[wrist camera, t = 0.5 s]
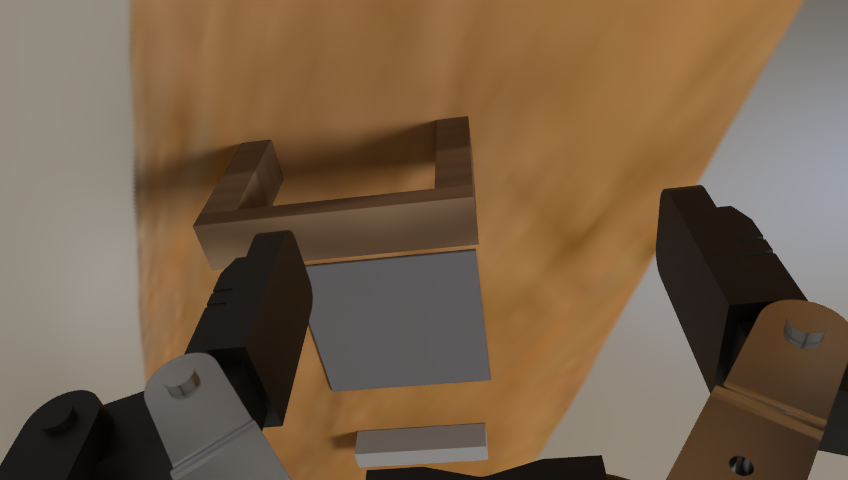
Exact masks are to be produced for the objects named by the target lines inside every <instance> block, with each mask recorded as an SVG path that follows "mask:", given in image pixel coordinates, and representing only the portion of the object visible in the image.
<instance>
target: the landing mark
mask: <svg viewBox="0 0 848 480" xmlns="http://www.w3.org/2000/svg"><path fill="white" fill-rule="evenodd" d="M305 267H306V270H307V273H308V276H309V279H310V282H311V286H312V293H313V305H312V311H311V315H310V319H309V323H310V326H311V329H312V332H313V335H314V338H315V341H316V344H317V347H318V350H319V353H320V356H321V359H322V362H323V365H324V368H325V370H326V373H327V376H328V379H329V382H330V385H331V388H332V391H347V390H361V389H375V388H389V387H402V386H416V385H430V384H444V383H458V382H471V381H485V380H491V377H490V369H489V360H488V352H487V343H486V334H485V326H484V317H483V309H482V300H481V291H480V283H479V274H478V266H477V257H476V249H472V250H461V251H451V252H440V253H430V254H419V255H409V256H399V257H388V258H378V259H367V260H357V261H346V262H336V263H325V264H315V265H305Z"/></svg>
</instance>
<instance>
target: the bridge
mask: <svg viewBox="0 0 848 480" xmlns="http://www.w3.org/2000/svg"><path fill="white" fill-rule="evenodd" d="M282 182H283V176H282V173H281V170H280V167H279V163H278V160H277V157H276V154H275V151H274V147H273V144H272V141H271V140H266V141H258V142H249V143H242V144H241V146H240V148H239V149H238V151H237V153H236V154H235V156H234V158H233V159H232V161H231V163H230V164H229V166H228V168H227V169H226V171H225V173H224V174H223V176H222V178H221V180H220V181H219V183H218V185H217V186H216V188H215V190H214V191H213V193H212V195H211V196H210V198H209V200H208V201H207V203H206V205H205V206H204V208H203V210H202V211H201V213H200V215H199V216H198V218H197V220H196V222H195V223H194V225H193V228H194V230H195V232H196V235H197V237H198V239H199V242H200V244H201V246H202V249H203V251H204V253H205V255H206V258H207V260H208V262H209V265H210V267H211V269H212V270H216V269H226V268H227V267H228V266H229V265H230V264H231V263H232V262H233V261H234V260H235V259H236V258H239V257H246V255H247V253H248V250H249V248H250V246H251V243H252V241H253V238H254V236H255V235H256V234H257V233H266V232H275V231H284V230H290V231H292V233H293V234H294V236H295V239H296V241H297V244H298V247H299V250H300V253H301V256H302V259H303V261H310V260H320V259H331V258H341V257H352V256H362V255H372V254H383V253H393V252H403V251H414V250H424V249H435V248H445V247H455V246H466V245H476V244H479V241H478V227H477V213H476V199H475V185H474V171H473V157H472V148H471V139H470V129H469V120H468V117H460V118H451V119H443V120H437V133H436V164H435V189H428V190H419V191H409V192H400V193H390V194H381V195H372V196H362V197H353V198H344V199H334V200H325V201H316V202H306V203H297V204H287V205H278V206H272V205H273V203H274V200H275V198H276V196H277V193H278V191H279V189H280V186H281V184H282Z"/></svg>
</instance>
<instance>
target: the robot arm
mask: <svg viewBox="0 0 848 480" xmlns="http://www.w3.org/2000/svg"><path fill="white" fill-rule="evenodd" d="M656 260H657V266H658V271H659V274H660V277H661V279H662V282H663V284H664V286H665V289H666V291H667V293H668V296H669V298H670V300H671V303H672V305H673V307H674V310H675V312H676V314H677V317H678V319H679V322H680V324H681V326H682V329H683V331H684V333H685V335H686V338H687V340H688V343H689V345H690V347H691V349H692V352H693V354H694V357H695V359H696V361H697V363H698V366H699V368H700V370H701V373H702V375H703V377H704V380H705V382H706V385H707V387H708V389H709V392H710V396H709V398H708V400H707V402H706V404H705V406H704V408H703V410H702V412H701V413H700V415H699V418H698V419H697V421H696V423H695V425H694V427H693V429H692V431H691V433H690V435H689V436H688V438H687V441H686V442H685V444H684V446H683V448H682V450H681V452H680V454H679V456H678V458H677V460H676V461H675V463H674V465H673V467H672V469H671V471H670V473H669V475H668V477H667V479H666V480H807V479H808V476H809V473H810V471H811V468H812V465H813V462H814V459H815V456H816V453H817V451H818V450H820V451H825V452H830V453H835V454H840V455H845V456H848V322H847V321H846V320H845V319H844V318H843V317H842V316H840V315H839V314H838V313H836V312H835V311H833V310H831V309H829V308H827V307H825V306H823V305H820V304H817V303H813V302H809V301H808V300H807V299H806V297H805V296H804V294H803V293H802V291H801V290H800V289H799V287H798V286H797V284H796V283H795V282H794V280H793V279H792V277H791V276H790V274H789V273H788V271H787V270H786V268H785V267H784V265H783V264H782V262H781V261H780V260H779V258H778V257H777V255H776V254H775V253H773V250H772V248H771V247H770V245H769V244H768V242H767V241H766V240H764V239H763V235H762V234H761V232H760V231H759V229H758V228H757V226H756V225H755V223H754V222H753V220H752V219H750V218H749V217H747V216H746V215H744V214H743V213H741V212H740V211H738V210H737V209H735V208H733V207H732V206H725V207H716V206H715V204H714V202H713V201H712V199H711V197H710V196H709V194H708V193H707V191H706V189H705V188H704V187H703V186H702V185H696V186H687V187H678V188H669V189H664V190H663V191H662V193H661V197H660V207H659V218H658V229H657V241H656ZM312 305H313V293H312V286H311V282H310V279H309V276H308V273H307V270H306V267H305V264H304V262H303V259H302V256H301V253H300V250H299V247H298V244H297V241H296V239H295V236H294V234H293V233H292V231H290V230H284V231H275V232H266V233H257V234H256V235H255V236H254V238H253V241H252V243H251V246H250V248H249V250H248V253H247V255H246V257H239V258H236V259H235V260H234V261H233V262H232V263H231V264H230V265H229V266H228V267H227V268H226V269H225V270H224V271H223V272H222V273H221V274H220V276H219V279H218V281H217V283H216V285H215V287H214V290H213V294H211V296H210V298H209V301H208V303H207V308H205V310H204V312H203V314H202V316H201V318H200V321H199V323H198V325H197V327H196V329H195V332H194V334H193V336H192V338H191V340H190V343H189V345H188V347H187V349H186V352H185V354H184V355H182V356H179V357H177V358H174V359H172V360H171V361H169V362H167V363H166V364H164V365H163V366H162V367H160V368H159V369H158V370H157V371H156V372H155V373H154V374H153V375H152V376H151V378H150V379H149V381H148V382H147V385H146V387H145V391H142V392H140V393H137V394H134V395H131V396H128V397H125V398H122V399H119V400H117V401H113V402H111V403H108V404H105V405H103V404H102V403H101V401H100V400H99V398H98V397H97V396H96V395H95V394H94V393H92V392H90V391H85V390H77V391H71V392H68V393H65V394H62V395H60V396H57V397H55V398H53V399H52V400H50V401H48V402H47V403H45V404H44V405H43V406H41V407H40V408H39V409H37V410H36V412H34V413H33V414H32V415H31V416H30V418H29V419H28V420H27V422H26V423H25V425H24V426H23V428H22V429H21V431H20V433H19V435H18V437H17V438H16V440H15V441H14V443H13V445H12V447H11V448H10V450H9V451H8V453H7V455H6V457H5V458H4V460H3V462H2V463H1V465H0V480H291V478H290V477H289V475H288V474H287V472H286V470H285V469H284V467H283V465H282V464H281V462H280V460H279V459H278V457H277V456H276V454H275V452H274V451H273V449H272V447H271V446H270V444H269V443H268V441H267V439H266V438H265V436H264V434H263V433H262V430H263V428H264V427H277V426H283V422H284V418H285V414H286V410H287V406H288V402H289V398H290V394H291V390H292V386H293V382H294V378H295V374H296V370H297V366H298V362H299V358H300V354H301V351H302V347H303V343H304V339H305V335H306V331H307V327H308V323H309V319H310V315H311V311H312ZM366 480H629V479H626V478H622V477H618V476H615V475H610V474H606V472H605V467H604V463H603V459H602V456H601V455H600V456H584V457H568V458H554V459H553V458H552V459H541V460H538V461H535V462H531V463H528V464H525V465H522V466H518V467H515V468H512V469H509V470H505V471H502V472H499V473H496V474H493V475H489V476H485V477H477V476H471V475H465V474H460V473H454V472H449V471H443V470H438V469H432V468H427V467H411V468H396V469H380V470H367V473H366Z"/></svg>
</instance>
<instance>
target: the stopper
mask: <svg viewBox="0 0 848 480" xmlns="http://www.w3.org/2000/svg"><path fill="white" fill-rule="evenodd" d="M354 455H355V457H356V460H357V463H358V466H359V467H375V466H392V465H409V464H426V463H443V462H460V461H477V460H488V450H487V435H486V428H485V423H480V424H464V425H449V426H434V427H418V428H403V429H387V430H372V431H358V433H357V440H356V447H355V454H354Z"/></svg>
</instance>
